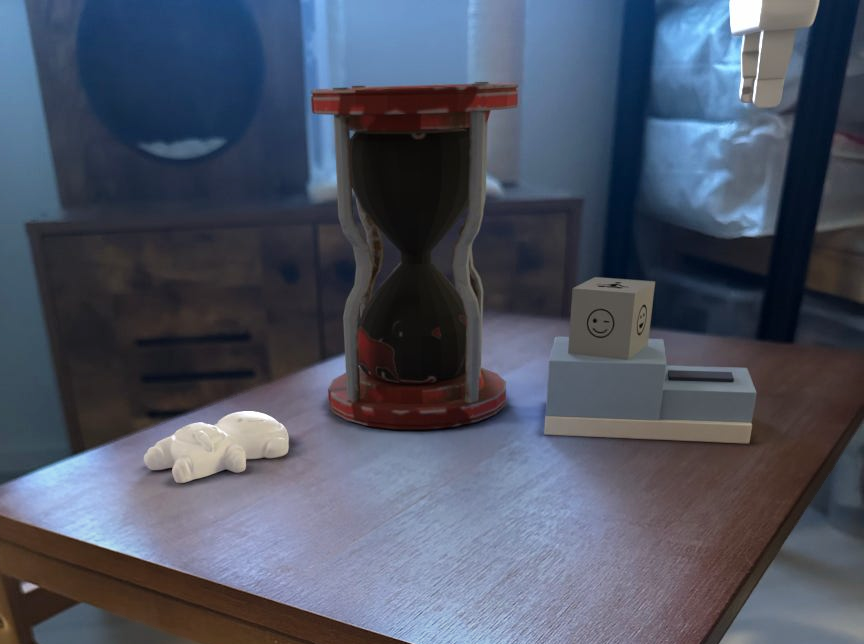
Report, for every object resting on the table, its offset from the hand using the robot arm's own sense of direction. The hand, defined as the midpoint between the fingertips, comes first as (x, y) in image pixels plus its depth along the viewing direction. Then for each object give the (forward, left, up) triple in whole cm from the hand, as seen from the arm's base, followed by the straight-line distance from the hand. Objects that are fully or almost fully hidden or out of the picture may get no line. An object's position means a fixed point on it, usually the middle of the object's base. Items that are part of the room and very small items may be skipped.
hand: (757, 105), depth 72 cm
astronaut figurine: (+39, +20, -23) cm, 49 cm away
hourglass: (+26, +4, -23) cm, 35 cm away
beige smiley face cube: (+9, +7, -17) cm, 21 cm away
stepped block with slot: (+6, +7, -23) cm, 25 cm away
